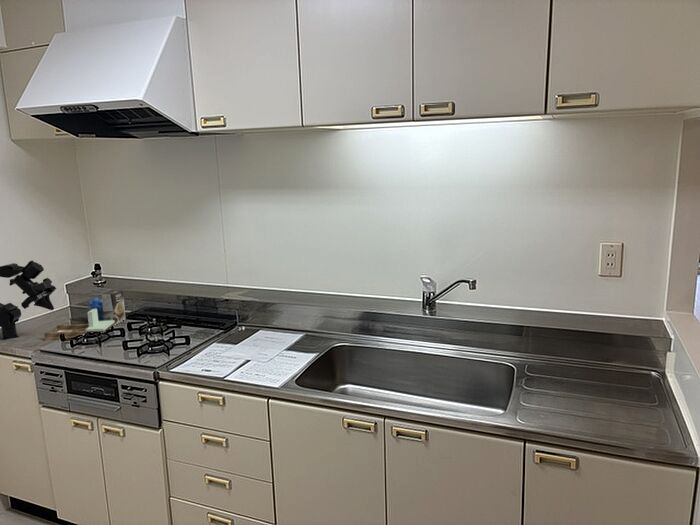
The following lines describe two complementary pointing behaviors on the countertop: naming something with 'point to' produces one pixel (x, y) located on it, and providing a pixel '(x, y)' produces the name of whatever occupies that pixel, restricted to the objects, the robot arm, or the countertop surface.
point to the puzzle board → (70, 331)
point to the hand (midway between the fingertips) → (53, 309)
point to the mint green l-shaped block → (97, 322)
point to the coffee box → (113, 306)
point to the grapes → (97, 307)
